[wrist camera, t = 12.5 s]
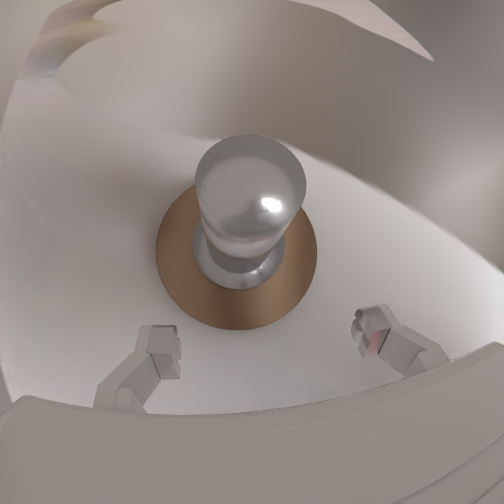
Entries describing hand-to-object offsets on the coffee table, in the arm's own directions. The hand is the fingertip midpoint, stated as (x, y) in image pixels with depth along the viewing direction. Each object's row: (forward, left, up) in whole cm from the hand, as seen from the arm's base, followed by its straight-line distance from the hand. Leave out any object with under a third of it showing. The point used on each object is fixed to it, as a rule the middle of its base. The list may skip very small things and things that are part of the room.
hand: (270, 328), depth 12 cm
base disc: (+1, -6, -9) cm, 11 cm away
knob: (+1, -6, -7) cm, 9 cm away
